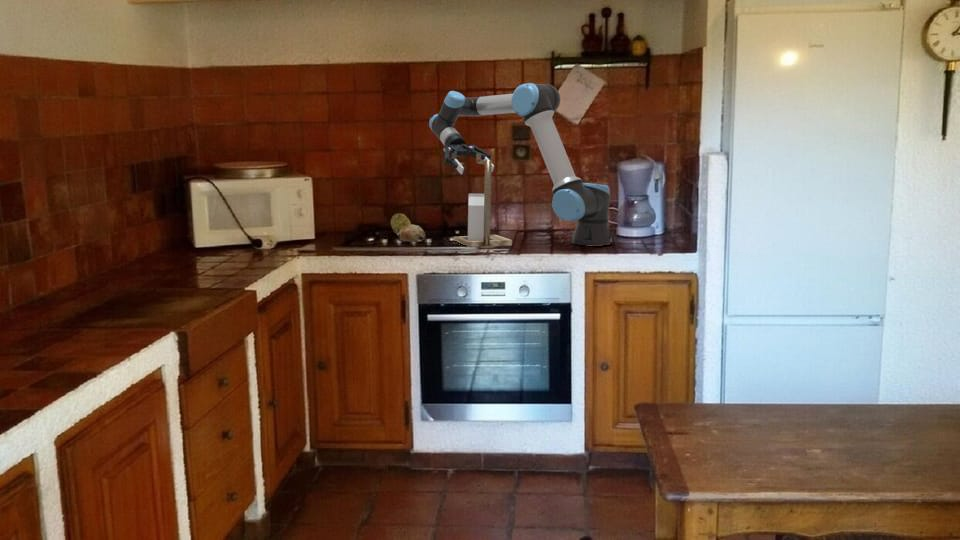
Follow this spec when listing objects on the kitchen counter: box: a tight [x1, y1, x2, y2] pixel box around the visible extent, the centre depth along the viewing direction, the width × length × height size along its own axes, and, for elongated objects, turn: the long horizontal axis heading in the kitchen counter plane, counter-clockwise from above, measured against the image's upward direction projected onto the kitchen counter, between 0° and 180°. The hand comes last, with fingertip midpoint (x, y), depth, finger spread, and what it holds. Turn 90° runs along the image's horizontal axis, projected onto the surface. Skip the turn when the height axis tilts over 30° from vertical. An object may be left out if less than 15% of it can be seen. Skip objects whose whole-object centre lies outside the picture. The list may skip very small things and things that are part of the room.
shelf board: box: [452, 234, 513, 248], centre depth 348 cm, size 18×14×2 cm
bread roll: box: [396, 223, 426, 243], centre depth 353 cm, size 10×10×8 cm
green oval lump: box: [390, 212, 412, 235], centre depth 366 cm, size 8×13×8 cm, turn 7°
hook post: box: [475, 154, 495, 249], centre depth 340 cm, size 5×11×34 cm, turn 24°
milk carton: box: [467, 193, 484, 241], centre depth 345 cm, size 7×7×19 cm
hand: (477, 170), depth 353 cm, fingers open, 13 cm apart
